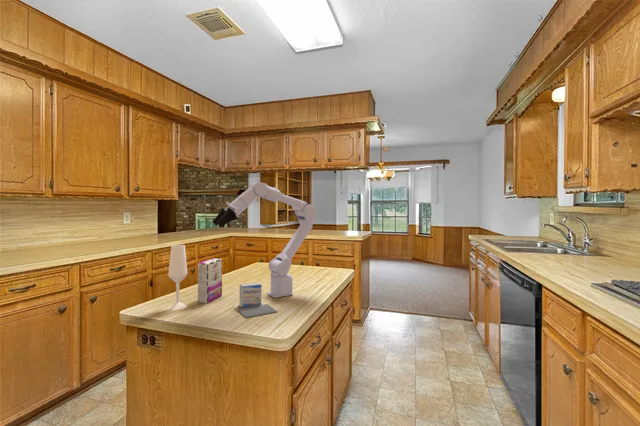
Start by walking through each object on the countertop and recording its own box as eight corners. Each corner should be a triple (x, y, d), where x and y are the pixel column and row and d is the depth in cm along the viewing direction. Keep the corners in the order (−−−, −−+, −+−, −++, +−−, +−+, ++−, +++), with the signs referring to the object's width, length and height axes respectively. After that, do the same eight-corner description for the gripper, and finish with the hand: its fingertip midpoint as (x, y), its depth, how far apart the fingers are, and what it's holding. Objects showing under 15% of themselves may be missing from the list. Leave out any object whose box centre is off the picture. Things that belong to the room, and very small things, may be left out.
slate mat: (267, 305, 120) (267, 303, 120) (276, 312, 112) (276, 311, 112) (237, 310, 113) (237, 308, 113) (245, 318, 105) (245, 316, 105)
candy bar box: (212, 294, 132) (212, 258, 131) (222, 295, 131) (222, 258, 130) (196, 302, 121) (197, 262, 120) (207, 303, 120) (208, 263, 119)
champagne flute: (183, 303, 120) (183, 244, 120) (189, 307, 115) (190, 245, 115) (165, 306, 115) (166, 245, 115) (171, 311, 111) (171, 247, 110)
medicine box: (241, 308, 115) (242, 286, 115) (239, 305, 119) (239, 283, 119) (261, 306, 119) (261, 284, 118) (258, 302, 123) (258, 281, 122)
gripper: (230, 195, 128) (205, 216, 123) (241, 194, 116) (214, 217, 111) (241, 208, 131) (217, 228, 126) (252, 208, 119) (226, 231, 114)
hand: (216, 224), depth 118 cm, fingers open, 7 cm apart
